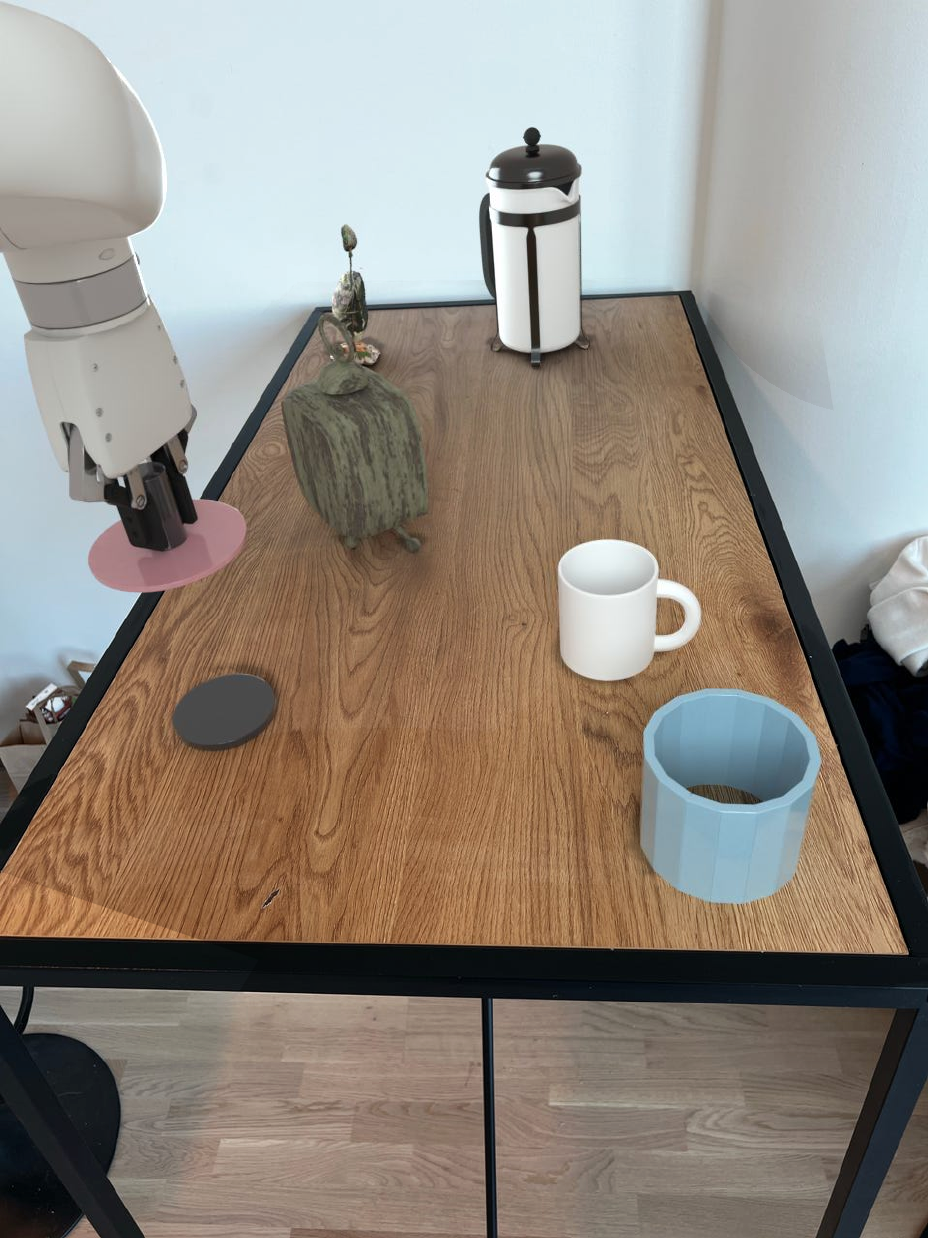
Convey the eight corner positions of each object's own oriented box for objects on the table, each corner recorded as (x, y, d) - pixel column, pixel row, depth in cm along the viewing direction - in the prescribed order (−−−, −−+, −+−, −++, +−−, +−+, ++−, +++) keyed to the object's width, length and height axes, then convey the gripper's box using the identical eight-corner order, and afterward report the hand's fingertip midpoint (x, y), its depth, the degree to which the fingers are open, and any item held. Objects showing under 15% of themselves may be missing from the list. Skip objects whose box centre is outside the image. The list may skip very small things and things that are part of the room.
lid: (221, 599, 67) (194, 515, 62) (65, 599, 69) (29, 516, 64) (268, 509, 76) (248, 430, 72) (129, 511, 78) (101, 434, 73)
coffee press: (597, 326, 145) (596, 110, 127) (583, 369, 133) (581, 137, 115) (487, 326, 149) (472, 117, 131) (465, 368, 137) (444, 144, 119)
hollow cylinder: (810, 919, 62) (835, 815, 56) (641, 910, 64) (646, 809, 57) (785, 792, 71) (804, 689, 64) (637, 787, 72) (641, 687, 66)
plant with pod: (388, 340, 148) (369, 207, 136) (375, 370, 139) (354, 231, 127) (338, 343, 149) (314, 211, 137) (322, 372, 140) (296, 234, 128)
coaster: (241, 761, 78) (239, 754, 78) (154, 738, 81) (151, 731, 81) (295, 690, 85) (293, 683, 84) (212, 672, 88) (210, 665, 87)
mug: (696, 635, 86) (704, 541, 79) (697, 697, 79) (706, 601, 73) (565, 629, 88) (563, 537, 82) (555, 688, 82) (552, 594, 75)
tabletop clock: (437, 553, 100) (408, 324, 84) (362, 585, 96) (317, 353, 81) (373, 499, 110) (337, 286, 94) (304, 527, 106) (254, 310, 91)
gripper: (117, 249, 67) (187, 474, 78) (-57, 339, 55) (54, 588, 67) (204, 253, 64) (263, 485, 76) (40, 347, 53) (139, 605, 64)
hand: (164, 531), depth 71 cm, fingers closed on lid, 3 cm apart
